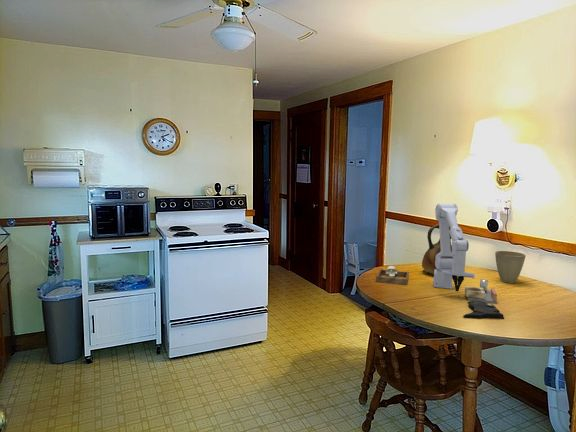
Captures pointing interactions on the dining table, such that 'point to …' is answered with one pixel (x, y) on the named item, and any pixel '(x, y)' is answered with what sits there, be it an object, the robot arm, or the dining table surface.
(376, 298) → the dining table surface
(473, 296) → the wooden square ring
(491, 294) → the board
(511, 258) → the plant pot
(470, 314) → the stone slab
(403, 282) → the coaster frame
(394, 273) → the skull
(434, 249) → the ceramic pitcher
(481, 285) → the peg
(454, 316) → the dining table surface
